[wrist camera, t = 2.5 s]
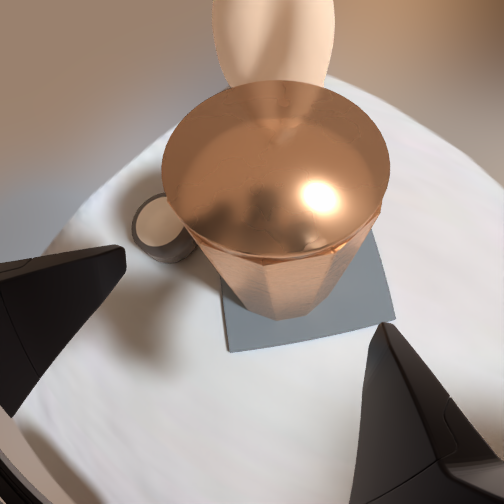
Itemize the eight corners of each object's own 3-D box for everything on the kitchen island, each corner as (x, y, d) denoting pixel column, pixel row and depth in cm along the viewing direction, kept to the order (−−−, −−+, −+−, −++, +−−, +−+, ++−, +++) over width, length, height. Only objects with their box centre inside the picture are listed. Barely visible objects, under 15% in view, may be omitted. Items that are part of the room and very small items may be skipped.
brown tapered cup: (236, 327, 19) (159, 276, 7) (224, 229, 22) (166, 101, 10) (344, 308, 19) (426, 229, 7) (320, 212, 21) (343, 74, 10)
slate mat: (230, 352, 19) (229, 352, 18) (215, 224, 22) (215, 223, 22) (394, 319, 18) (395, 319, 18) (359, 200, 22) (360, 198, 22)
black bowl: (149, 270, 22) (130, 257, 19) (149, 219, 23) (133, 200, 20) (205, 260, 21) (192, 244, 18) (201, 207, 23) (189, 186, 20)
